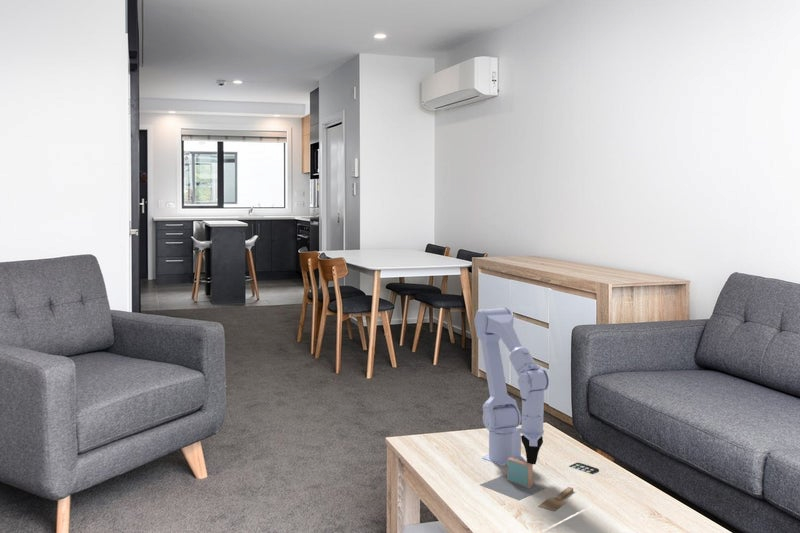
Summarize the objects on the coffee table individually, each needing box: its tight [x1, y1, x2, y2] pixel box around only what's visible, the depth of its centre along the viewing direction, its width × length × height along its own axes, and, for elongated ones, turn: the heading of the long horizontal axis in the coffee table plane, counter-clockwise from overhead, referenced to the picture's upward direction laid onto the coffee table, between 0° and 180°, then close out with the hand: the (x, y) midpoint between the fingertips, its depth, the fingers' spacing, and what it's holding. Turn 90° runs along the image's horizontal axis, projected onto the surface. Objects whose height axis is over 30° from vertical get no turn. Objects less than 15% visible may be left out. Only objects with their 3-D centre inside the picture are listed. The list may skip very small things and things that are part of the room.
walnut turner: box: [537, 486, 574, 512], centre depth 179 cm, size 14×4×1 cm, turn 142°
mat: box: [479, 473, 546, 501], centre depth 187 cm, size 11×13×1 cm
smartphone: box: [568, 462, 600, 475], centre depth 197 cm, size 7×1×15 cm
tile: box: [506, 457, 534, 488], centre depth 188 cm, size 2×7×6 cm, turn 42°
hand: (531, 463), depth 191 cm, fingers closed
